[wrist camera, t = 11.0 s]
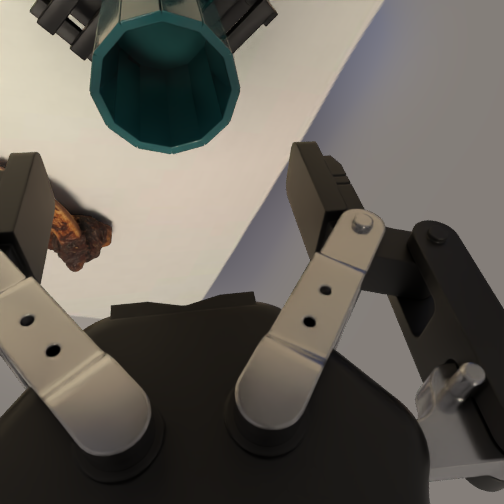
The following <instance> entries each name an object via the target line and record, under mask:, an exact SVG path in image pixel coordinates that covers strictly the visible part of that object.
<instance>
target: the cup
mask: <svg viewBox="0 0 504 504" xmlns="http://www.w3.org/2000/svg"><path fill="white" fill-rule="evenodd" d="M239 93H240V84H239V80H238V75H237V71H236V67H235V62H234V58H233V54H232V51H231V48H230V45H229V42H228V40H227V37H226V34H225V31H224V28H223V25H222V23H221V20H220V17H219V14H218V11H217V9H216V6H215V3H214V0H102V2H101V8H100V14H99V20H98V25H97V31H96V37H95V43H94V48H93V54H92V66H91V78H90V94H91V96H92V98H93V100H94V102H95V104H96V106H97V108H98V110H99V112H100V114H101V116H102V118H103V120H104V122H105V124H106V125H108V128H110V129H111V130H112V131H114V132H115V133H117V134H118V135H119V136H121V137H122V138H124V139H125V140H126V141H128V142H129V143H130V144H132V145H133V146H135V147H137V146H138V148H139V149H145V150H150V151H156V152H161V153H167V154H171V153H172V154H176V153H179V152H183V151H187V150H190V149H194V148H198V147H201V146H204V144H205V145H206V144H207V143H208V142H209V141H210V140H212V139H213V138H214V137H215V136H216V135H217V134H218V133H219V132H220V131H221V130H222V129H224V128H225V127H226V126H227V125H228V124H229V122H230V121H231V118H232V115H233V112H234V108H235V105H236V102H237V99H238V96H239Z"/></svg>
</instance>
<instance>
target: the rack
mask: <svg viewBox="0 0 504 504" xmlns="http://www.w3.org/2000/svg"><path fill="white" fill-rule="evenodd" d="M101 2H102V0H36V2H35V3H34V5H33V6H32V7H31V9H30V13H32V14H33V15H34V16H35V17H37V18H38V20H37V23H38V24H39V25H40V26H42V27H43V28H44V29H45V30H47V31H48V32H49V33H50V34H52V35H54V34H55V33H56V34H58V35H59V36H60V37H61V38H63V39H64V40H65V41H66V42H68V43H69V44H70V45H71V46H70V50H72V51H73V52H74V53H75V54H77V55H78V56H79V57H80V58H82V59H83V60H86V59H87V58H88V59H89V60H90V61H91V62H92V54H93V48H94V43H95V37H96V31H97V25H98V20H99V14H100V8H101ZM214 3H215V6H216V9H217V11H218V14H219V17H220V20H221V23H222V25H223V28H224V31H225V34H226V37H227V40H228V42H229V45H230V48H231V51H232V54H233V53H234V52H235V51H236V50H237V49H238V48H239V47H240V46H241V45H242V44H243V43H244V42H245V41H246V40H247V39H248V38H249V37H250V36H251V35H252V34H253V33H254V32H255V31H256V30H257V29H258V28H259V27H260V26H261V25H262V24H264V25H265V26H267V25H268V24H269V23H270V22H271V21H272V20H273V19H274V18H275V17H276V16H277V15H278V13H277V12H276V10H275V9H274V8H273V6H272V5H271V4H270V2H269V0H214ZM69 14H71V15H72V16H73V17H75V18H76V19H77V20H78V21H79V22H80V23H82V24H83V25H84V26H85V27H84V29H83V30H82V29H81V28H80V27H78V26H77V25H76V24H75V23H74V22H72V21H71V20H70V19H69V18H68V16H69ZM242 16H243V17H242ZM241 17H242V18H241ZM240 18H241V19H240ZM239 19H240V20H239ZM238 20H239V21H238ZM237 21H238V22H237ZM236 22H237V23H236ZM235 23H236V24H235ZM234 24H235V25H234Z"/></svg>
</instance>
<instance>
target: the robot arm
mask: <svg viewBox="0 0 504 504" xmlns="http://www.w3.org/2000/svg"><path fill="white" fill-rule="evenodd" d="M286 191H287V196H288V199H289V202H290V205H291V208H292V211H293V214H294V216H295V219H296V222H297V225H298V228H299V230H300V233H301V236H302V239H303V242H304V244H305V247H306V250H307V253H308V255H309V258H310V262H309V264H308V266H307V267H306V269H305V271H304V272H303V274H302V276H301V278H300V279H299V281H298V283H297V285H296V286H295V288H294V289H293V291H292V293H291V295H290V296H289V298H288V300H287V302H286V303H285V305H284V307H283V308H282V309H280V308H278V307H276V306H273V305H270V304H266V303H262V302H256V301H255V296H254V292H243V293H233V294H223V295H218V296H215V297H211V298H208V299H205V300H202V301H199V302H196V303H193V304H190V305H186V306H180V305H171V304H162V303H153V302H141V303H131V304H121V305H111V316H110V317H107V318H104V319H102V320H100V321H98V322H96V323H94V324H92V325H90V326H88V327H87V328H86V329H84V330H82V329H81V328H80V327H79V326H78V325H77V324H76V322H75V321H74V320H73V319H72V318H71V317H70V316H69V315H68V314H67V313H66V312H65V311H64V310H63V308H62V307H61V306H60V305H59V304H58V303H57V302H56V301H55V300H54V299H53V298H52V297H51V296H50V295H49V294H48V292H47V291H46V290H45V289H44V288H43V287H42V286H41V285H40V284H41V279H42V274H43V269H44V264H45V259H46V254H47V248H48V243H49V238H50V233H51V228H52V223H53V218H54V213H55V199H54V194H53V190H52V187H51V185H50V182H49V179H48V176H47V173H46V170H45V167H44V164H43V161H42V158H41V156H40V154H39V153H38V152H28V153H11V154H10V156H9V159H8V162H7V164H6V167H5V170H0V356H1V357H2V358H3V360H4V361H5V362H6V363H7V365H8V366H9V368H10V369H11V370H12V372H13V373H14V374H15V376H16V377H17V378H18V380H19V381H20V383H21V384H22V385H23V386H24V388H25V389H26V390H25V391H24V392H23V394H22V395H21V396H20V397H19V398H18V399H17V400H16V401H15V402H14V403H13V405H11V407H10V408H9V409H8V410H7V411H6V412H5V413H4V414H3V415H2V416H1V417H0V504H430V501H429V482H431V481H440V480H449V479H459V478H466V480H468V481H469V482H470V483H471V484H472V485H474V486H475V487H477V488H479V489H481V490H485V491H489V492H495V491H499V490H501V489H503V488H504V309H503V307H502V305H501V304H500V302H499V301H498V299H497V297H496V296H495V294H494V293H493V291H492V289H491V288H490V286H489V285H488V283H487V281H486V280H485V278H484V276H483V275H482V273H481V272H480V270H479V268H478V267H477V265H476V263H475V262H474V260H473V259H472V257H471V255H470V254H469V252H468V251H467V249H466V247H465V246H464V244H463V242H462V241H461V239H460V238H459V236H458V235H457V233H456V232H455V231H454V230H453V229H452V228H450V227H449V226H447V225H445V224H443V223H440V222H437V221H428V220H427V221H421V222H419V223H417V224H416V225H415V226H414V228H413V230H412V232H410V231H404V230H397V229H393V228H388V227H385V224H384V222H383V220H382V219H381V218H380V217H379V216H378V215H376V214H374V213H373V212H370V211H368V210H365V209H364V207H363V206H362V204H361V202H360V200H359V198H358V196H357V194H356V192H355V190H354V188H353V186H352V185H351V184H350V181H349V179H348V177H347V176H346V173H345V171H344V169H343V167H342V165H341V164H340V163H339V162H338V161H336V160H335V159H334V158H333V157H331V156H323V155H322V153H321V151H320V149H319V147H318V145H317V143H316V142H315V141H312V142H294V143H293V144H292V147H291V153H290V159H289V166H288V172H287V180H286ZM361 290H364V291H370V292H375V293H381V294H387V296H388V298H389V300H390V303H391V305H392V308H393V310H394V313H395V315H396V318H397V320H398V323H399V325H400V327H401V330H402V332H403V335H404V337H405V340H406V342H407V345H408V347H409V350H410V352H411V354H412V357H413V359H414V362H415V364H416V366H417V369H418V372H419V374H420V377H421V379H422V381H423V384H422V386H421V387H420V388H419V390H418V391H417V394H416V399H415V400H416V407H417V412H418V419H415V417H414V416H413V414H412V413H411V412H410V411H409V410H408V408H407V407H406V406H405V405H404V404H402V403H401V402H400V401H399V400H398V399H397V398H395V397H394V396H392V394H390V393H389V392H388V391H386V390H385V389H384V388H383V387H381V386H380V385H379V384H378V383H376V382H375V381H374V380H373V379H371V378H370V377H369V376H368V375H366V374H365V373H364V372H362V371H361V370H360V369H359V368H358V367H356V366H355V365H354V364H352V363H351V362H350V361H349V360H347V359H346V358H345V357H344V356H342V355H341V354H340V353H339V352H337V351H336V348H337V346H338V344H339V341H340V339H341V336H342V334H343V332H344V329H345V327H346V325H347V322H348V320H349V318H350V316H351V313H352V311H353V308H354V306H355V304H356V302H357V300H358V297H359V295H360V293H361Z"/></svg>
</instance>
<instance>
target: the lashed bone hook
mask: <svg viewBox="0 0 504 504" xmlns="http://www.w3.org/2000/svg"><path fill="white" fill-rule="evenodd" d="M0 170H5V168H4V167H2V166H0ZM111 238H112V228H111V227H110V226H109V225H107V224H103V223H101V222H99V221H97V220H96V219H94V218H92V217H91V216H84V215H71V214H70V213H69V212H68V211H67V210H66V209H65V208H64V206H62V205H61V204H60V203H59V202H58V201H57V200H56V199H55V213H54V218H53V223H52V228H51V233H50V238H49V243H48V248H47V249H50V250H54V252H56V253H58V257H60V258H61V259H62V260H63V262H65V263H66V266H67V267H68V268H69V269H70V270H71V271H73V272H77V271H79V270H80V269H82V268H83V265H84V263H85V262H89V261H91V260H92V259H94V258H97V257H98V256H99V255H100V250H101V248H102V247H105V246H108V245H110V243H111Z"/></svg>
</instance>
